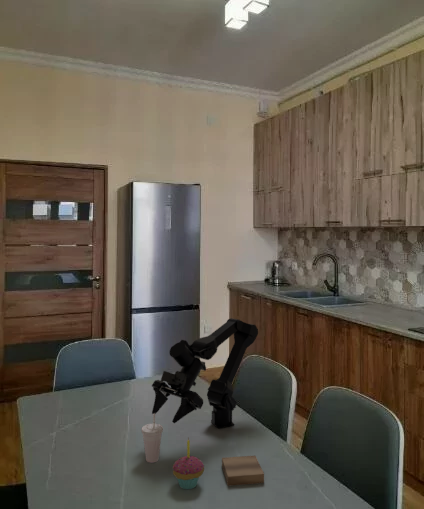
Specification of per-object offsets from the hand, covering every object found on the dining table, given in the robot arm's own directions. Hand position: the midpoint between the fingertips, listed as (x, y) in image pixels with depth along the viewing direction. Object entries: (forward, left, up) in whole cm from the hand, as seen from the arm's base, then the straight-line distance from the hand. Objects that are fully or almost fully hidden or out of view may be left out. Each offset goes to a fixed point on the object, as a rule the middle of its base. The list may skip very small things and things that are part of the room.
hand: (162, 418), depth 130 cm
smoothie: (+4, +2, -11) cm, 12 cm away
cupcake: (-1, +18, -11) cm, 22 cm away
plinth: (-17, +20, -11) cm, 28 cm away
